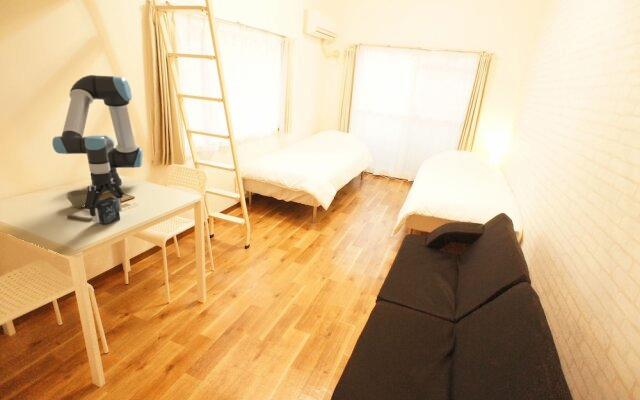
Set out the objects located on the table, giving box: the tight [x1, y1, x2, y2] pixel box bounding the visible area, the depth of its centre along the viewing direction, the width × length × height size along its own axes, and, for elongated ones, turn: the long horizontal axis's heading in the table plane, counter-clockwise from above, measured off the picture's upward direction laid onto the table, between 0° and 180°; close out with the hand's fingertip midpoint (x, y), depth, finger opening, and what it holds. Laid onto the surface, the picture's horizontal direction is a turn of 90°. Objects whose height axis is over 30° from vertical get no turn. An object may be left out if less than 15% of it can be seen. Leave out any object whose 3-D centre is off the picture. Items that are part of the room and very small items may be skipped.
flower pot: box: [65, 189, 88, 209], centre depth 167 cm, size 10×10×7 cm
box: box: [95, 196, 121, 226], centre depth 152 cm, size 8×6×11 cm
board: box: [66, 207, 93, 222], centre depth 158 cm, size 12×12×1 cm
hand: (107, 216), depth 153 cm, fingers open, 13 cm apart
